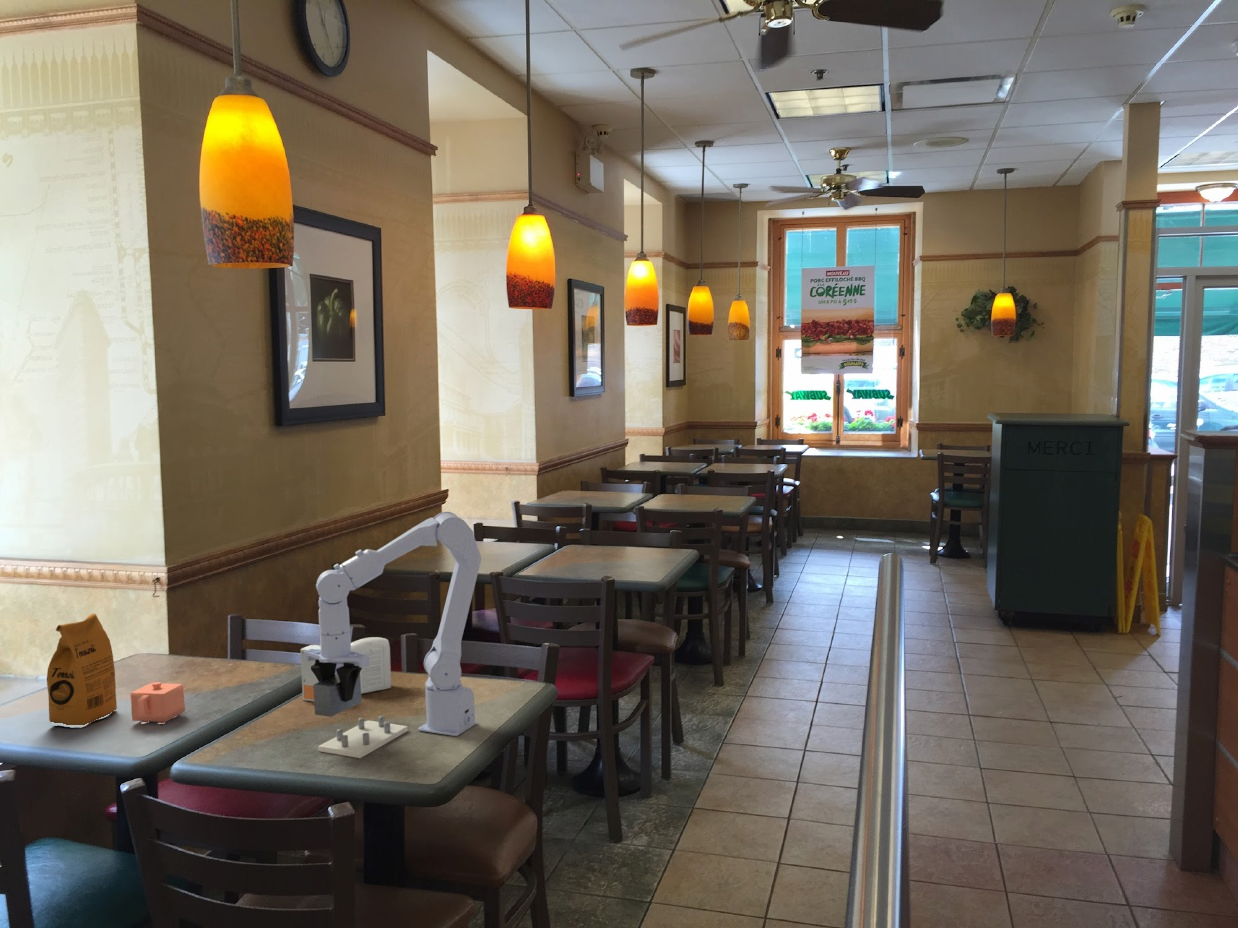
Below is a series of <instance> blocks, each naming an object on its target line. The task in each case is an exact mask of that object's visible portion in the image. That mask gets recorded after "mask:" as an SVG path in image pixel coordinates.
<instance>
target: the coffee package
mask: <svg viewBox="0 0 1238 928" xmlns="http://www.w3.org/2000/svg"><path fill="white" fill-rule="evenodd" d="M55 631H56V632H59V634H60V636H61V637H60V638H59V639H58V642H57V646H56V650H55V651H54V653H53V655H52V656H51V659H50V662H49V664H48V667H47V673H46V685H47V693H48V694H47V695H48V720H49V722H50V723H51V722H54V723H63V724H66V725H85V724H87V723H90V722H92V721H94V720H96V719H99V718H101V717H104V716H106V715H108V714H110V713H111V712H113V711H114V710H116V709H117V710H118V705H117V694H116V693H117V692H116V691H117V690H116V688H117V687H116V685H117V684H116V670H115V669H116V668H115V664H114V663H115V661H114V660H115V659H114V654H113V649H112V645H111V644H112V643H111V641H110V639H109V636H108V634H107V632H106V630H105V629H104V627H103V625H102V622H101V621H100V620H99V618H98V616H97V613H91V614H90V615H88V616H87V617H86V618H84V619H83V620H82V621H78V622H77V621H76V622H70V623H64V624H58V625H57V626H56V628H55ZM113 713H114V712H113ZM94 722H95V721H94ZM92 723H93V722H92Z"/></svg>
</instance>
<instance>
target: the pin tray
mask: <svg viewBox="0 0 1238 928" xmlns="http://www.w3.org/2000/svg"><path fill="white" fill-rule="evenodd" d="M377 719H378V721H375V720H366V721H365V718H364V717H359V718H357V722H358V723H357V725H356V726H354V727H352V728H351V729H348V730H346V731H345V732H344V731H343V728H337V729H336V730H335V731H336V736H335V737H333V738H331V739H329V740H327V741H326V742H324V743H321V744H320V745H318V746H317V747H318V748H317V749H318V750H317V751H318V752H321V753H328V754H333V755H338V756H346V757H350V758H357V759H362V758H364V756H365V757H366V755H368V754H370V753H371V752H374V751H375V750H377V749H379V748H380V747H382V746H384V745H386V744H388V743H389V742H391V741H393V740H395V739H396V738H399V737H400V736H401V735H403V734H404V733H407V732H408V726H407V725H402V724H397V723H396V724H395V723H391V722H390V721H385V719H386V718H385V715H379V716H378V717H377Z"/></svg>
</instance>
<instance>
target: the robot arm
mask: <svg viewBox="0 0 1238 928" xmlns="http://www.w3.org/2000/svg"><path fill="white" fill-rule="evenodd" d="M437 541H438V542H439V543H440V544H441V545H442V546H444V547H445V548H446V549H447V550H448V552H449V554H450V555H451V556H452V558H453V559H454V561H455V563H454V567H453V570H452V574H451V579H450V583H449V587H448V591H447V595H446V599H445V602H444V603H445V604H444V608H443V612H442V615H441V620H440V624H439V628H438V631H437V635H436V636H435V638H434V640H433V642H432V645H431V648H430V650H429V651H428V652H427V653H426V654H425V656H424V660H423V668H424V670H425V672H426V673H427V674H428V676H427V677H428V678H427V680H426V681H425V683H424V687H425V690H424V691H425V710H426V711H425V713H426V716H425V717H426V723H424V724H422V725H420V726H419V727H418V728H417V731H419V732H420V731H421V732H426V733H433V734H439V735H446V736H452V737H458V736H459V735H461V734H462V733H464V732H466V731H467V730H468V729H470V728H472V727H474V726H475V725H477V723H478V721H477V720H476V714H475V713H476V711H475V695H474V692H473V690H472V689H471V687H466V686H465V685H463V683H462V682H461V681H462V680H461V677H462V668H461V667H462V666H461V657H462V639H463V635H464V633H465V632H464V630H465V627H466V624H467V619H468V615H469V612H470V606H471V603H472V599H473V594H474V592H475V586H476V582H477V578H478V574H479V570H480V566H481V562H482V556H481V553H480V549H479V547H478V543H477V541H476V538H475V534H474V530H473V529H472V528H471V527H470V526H469V525H468V523H467V522H466V521H465V520H463V519H462V518H460V517H459V516H458V515H457V514H455V513H453V512H450V511H442V512H439V513H438V514H436V515H435V516H434V517H429V518H428V519H427V518H426V519H425V520H423V521H422V522H420V523H419V524H417V525H415V526H413V527H412V528H410V529H409V530H407V531H405V532H404V533H403V534H401V535H399V536H397V537H396V538H395V539H393V540H391V541H390V542H388V543H386V545H383V546H382V547H380V548H378V549H377V550H374V549H369V548H367V549H364V550H362V549H358V550H356V551H355V555H354V556H353V557H351V558H349V559H348V560H345V561H344V562H342V563H341V564H339V563H336V564H334V565H333V568H334V569H328V570H325V571H323V572H322V573H320V575H319V576H318V577H317V580H316V584H315V589H316V591H317V595H318V596H319V597H318V608H319V609H318V625H319V628H318V629H319V640H320V642H319V645H320V646H321V649H309V650H307V651H304V660H305V661H310V660H312V661H315V665H312V666H311V671H312V672H313V673H314V674H315V676H316V678H317V679H318V681H319V682H320V681H322V680H325V679H327V678H329V677H332V676H334V675H336V674H338V676H339V679H340V683H341V690H342V698H343V702H347V701H349V700H351V699H353V693H354V688H355V684H356V681H357V678H358V676H359V673H360V671H361V669H362V668H364V667H366V666H368V665H369V655H363V654H360V653H357V652H354V651H351V643H352V641H351V627H350V609H349V606H348V596H349V594H350V591H355V590H357V589H359V588H360V587H362V586H364V585H365V584H367V583H369V582H370V581H372V580H374V579H376V578H377V577H379V576H381V575H382V574H383V573H384V568H385V566H386V564H389V563H391V562H392V561H395V560H397V559H398V558H400V557H402V556H404V555H406V554H408V553H410V552H411V551H413V550H415V549H417V548H419V547H422V546H427V547H438V542H437ZM338 664H339V665H342V666H339V667H337V665H338Z"/></svg>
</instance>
